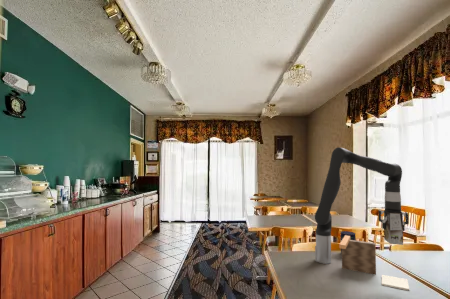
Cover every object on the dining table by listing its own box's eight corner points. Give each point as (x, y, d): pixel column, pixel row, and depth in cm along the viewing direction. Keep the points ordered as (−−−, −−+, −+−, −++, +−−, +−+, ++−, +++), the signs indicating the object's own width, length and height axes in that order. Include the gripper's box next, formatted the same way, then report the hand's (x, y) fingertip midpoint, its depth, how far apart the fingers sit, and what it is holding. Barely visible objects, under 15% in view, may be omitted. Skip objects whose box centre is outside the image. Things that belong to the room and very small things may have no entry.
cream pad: (381, 285, 142) (381, 283, 142) (381, 276, 154) (381, 274, 154) (409, 290, 136) (409, 289, 136) (407, 280, 148) (407, 279, 148)
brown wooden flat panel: (342, 268, 165) (341, 239, 166) (342, 266, 167) (342, 238, 169) (375, 274, 156) (375, 244, 157) (376, 272, 158) (375, 243, 159)
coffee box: (403, 245, 141) (403, 213, 142) (390, 244, 142) (389, 213, 143) (396, 240, 150) (396, 211, 151) (383, 239, 151) (383, 210, 152)
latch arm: (339, 248, 148) (339, 244, 148) (345, 238, 168) (345, 235, 168) (345, 249, 146) (345, 245, 146) (350, 239, 167) (350, 236, 167)
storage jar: (355, 253, 195) (355, 232, 196) (356, 257, 186) (355, 235, 187) (340, 251, 199) (340, 230, 200) (340, 255, 190) (340, 233, 191)
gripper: (377, 199, 148) (378, 230, 147) (409, 202, 141) (409, 234, 140) (377, 198, 155) (378, 227, 153) (408, 200, 147) (408, 231, 146)
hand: (393, 230), depth 147 cm, fingers closed on coffee box, 7 cm apart
